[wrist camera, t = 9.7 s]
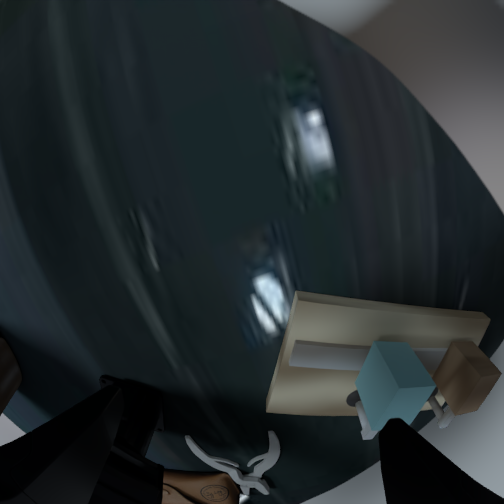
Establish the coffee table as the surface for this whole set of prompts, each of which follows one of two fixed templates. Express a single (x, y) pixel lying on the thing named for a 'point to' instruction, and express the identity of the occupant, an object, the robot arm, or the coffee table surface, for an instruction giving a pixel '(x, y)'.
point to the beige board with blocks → (358, 346)
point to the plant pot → (8, 374)
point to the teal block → (391, 386)
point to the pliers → (252, 478)
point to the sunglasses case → (199, 488)
